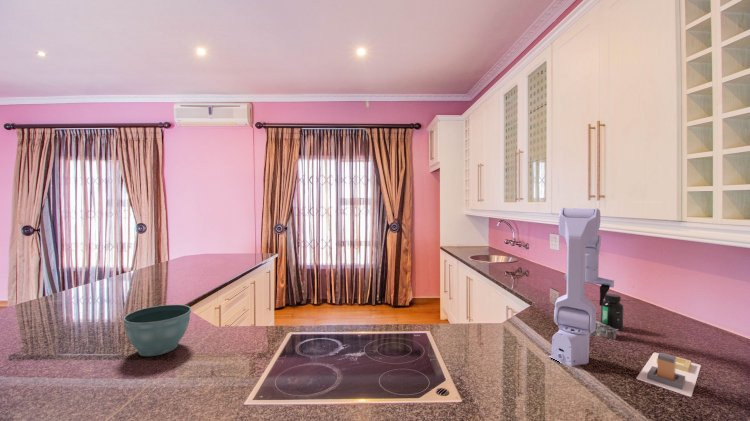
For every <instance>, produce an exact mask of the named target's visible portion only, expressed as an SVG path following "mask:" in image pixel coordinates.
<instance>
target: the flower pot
mask: <svg viewBox="0 0 750 421" xmlns="http://www.w3.org/2000/svg"><path fill="white" fill-rule="evenodd" d="M191 311H192V307H191V306H189V305H185V304H163V305H156V306H150V307H145V308H140V309H138V310H134V311H131V312H130V313H128V314H126V315H125V316H124V317H123V324H124V328H125V333H126V337H127V339H128V341H129V342H130V344H131V345H132V346H133V348H135V349H136V350H137V354H138V355H140V356H141V357H155V356H160V355H163V354H168V353H170V352H172V351H174V350H176V349H177V347H178V345H179V342H180V340H182V338H183V337H184V336H185V333H186V332H187V329H188V326H189V324H190V317H191Z"/></svg>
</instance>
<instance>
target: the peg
mask: <svg viewBox="0 0 750 421" xmlns="http://www.w3.org/2000/svg"><path fill="white" fill-rule="evenodd" d="M658 353H659V355H658V370H657V376H660V377H664V378H667V379H670V380H673V381H675V366H676V357H677V356H675V355H672V356H671V354H668V353H663V352H658Z"/></svg>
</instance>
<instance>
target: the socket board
mask: <svg viewBox="0 0 750 421" xmlns="http://www.w3.org/2000/svg"><path fill="white" fill-rule="evenodd" d="M659 353H660V352H653V353H652V355H651V356H650V357H649V359H648V360H647V362H646V364H645V365H644V366H643V368H642V369H641V370H640V372H639V374H638V375H637V376H636V380H638V381H642V382H645V383H647V384H651V385H654V386H657V387H659V388H663V389H666V390H669V391H672V392H675V393H677V394H681V395H683V396H687V397H690V398H691V397H692V396H693V392H694V389H695V387H696V383H697V379H698V376H699V372H700V369H701V368H702V364H698V363H695V362H692V360H690V359H685V358H682V357H678V356H675V357H676V366H675V381H673V380H670V379H667V378H664V377H660V376H657V370H658V355H659ZM670 355H671V354H670ZM671 356H673V355H671Z"/></svg>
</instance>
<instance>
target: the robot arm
mask: <svg viewBox="0 0 750 421" xmlns="http://www.w3.org/2000/svg"><path fill="white" fill-rule="evenodd" d="M600 226H601V210H600V209H599V208H597V207H596V208H571V207H566V208H565V207H561V209H559V212H558V233H559V234H558V235H559V236H561V237H563V238H564V239H565V242H566V273H565V274H564V280H565V281H566V293H565V294H563V295H561V296H560V297H557V299H556V300H555V303H554V310H553V322H554V323H555V325H557V326H558V331H557V332H555V333H554V334H553V335H552V338H551V355H548V358H549V357H551V358H553V359H555V360H557V361H559V362H560V363H559V362H558V363H559V364H561V363H562V364H565V365H567V366H569V367H575V366H578V365H587V364H589V359H590V358H589V357H590V332H591V333H593V332H594V331H595V328H596V321H597V312H596V311H597V310H596V309H597V308H596V306H595V305H596V304H595V303H594V302H593V301H591V300H590V299H589V298H588V297H587V296H586V295H585V294H586V293H585V292H586V287H585V286H586V284H594V285H599V306H600V307H601V306H602V305H603V301H604V300H605V299H604V297H605V295H606V294H608V292H609V290H610V288H614V286H615V280H613V279H608V278H603V277H599V259H600V258H599V255H600V252H601V250H600V248H601V243H602V242H601V241H602V239H601V238H602V237H601V236H602V235H601V234H599V229H600ZM551 358H550V359H551ZM553 359H552V360H553ZM555 360H554V361H555ZM557 361H556V362H557Z"/></svg>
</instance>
